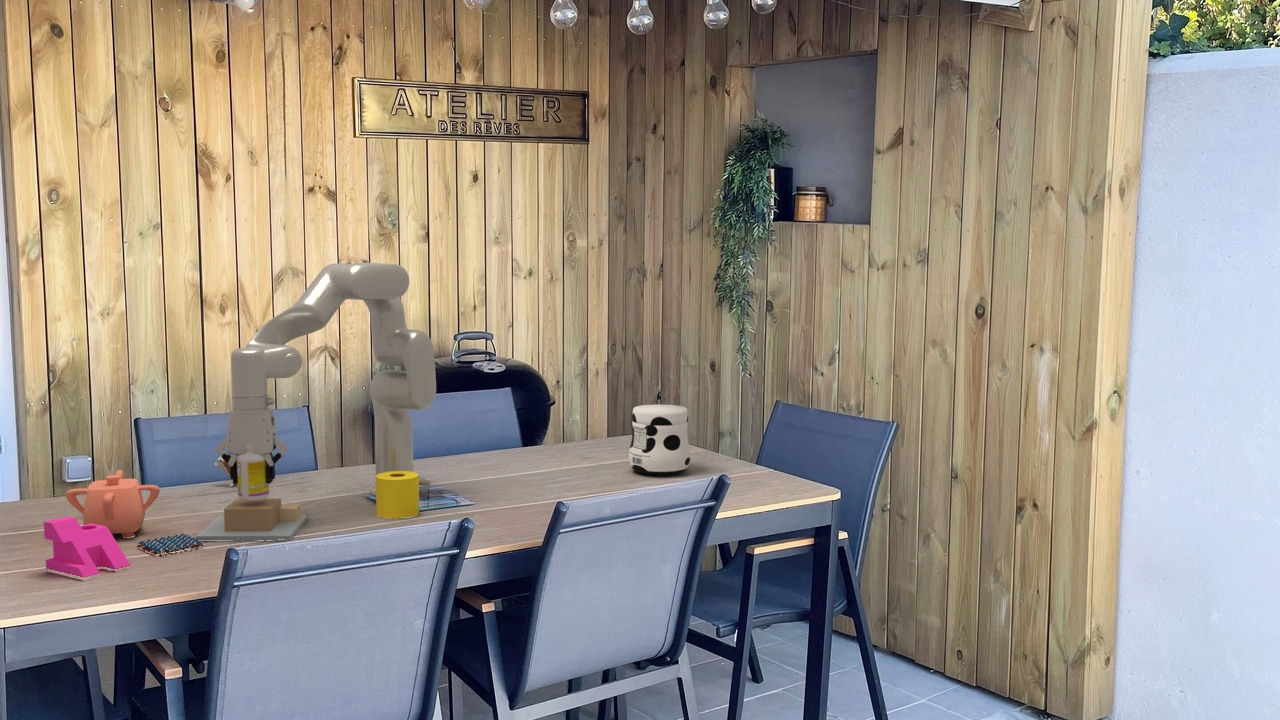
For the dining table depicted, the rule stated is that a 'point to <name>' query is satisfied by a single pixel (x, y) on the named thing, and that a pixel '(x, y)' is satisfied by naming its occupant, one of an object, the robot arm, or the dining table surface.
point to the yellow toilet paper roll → (397, 494)
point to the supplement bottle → (252, 476)
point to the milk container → (659, 439)
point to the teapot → (114, 503)
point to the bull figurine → (224, 468)
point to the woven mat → (169, 544)
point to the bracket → (82, 547)
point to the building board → (251, 535)
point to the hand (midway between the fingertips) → (253, 481)
